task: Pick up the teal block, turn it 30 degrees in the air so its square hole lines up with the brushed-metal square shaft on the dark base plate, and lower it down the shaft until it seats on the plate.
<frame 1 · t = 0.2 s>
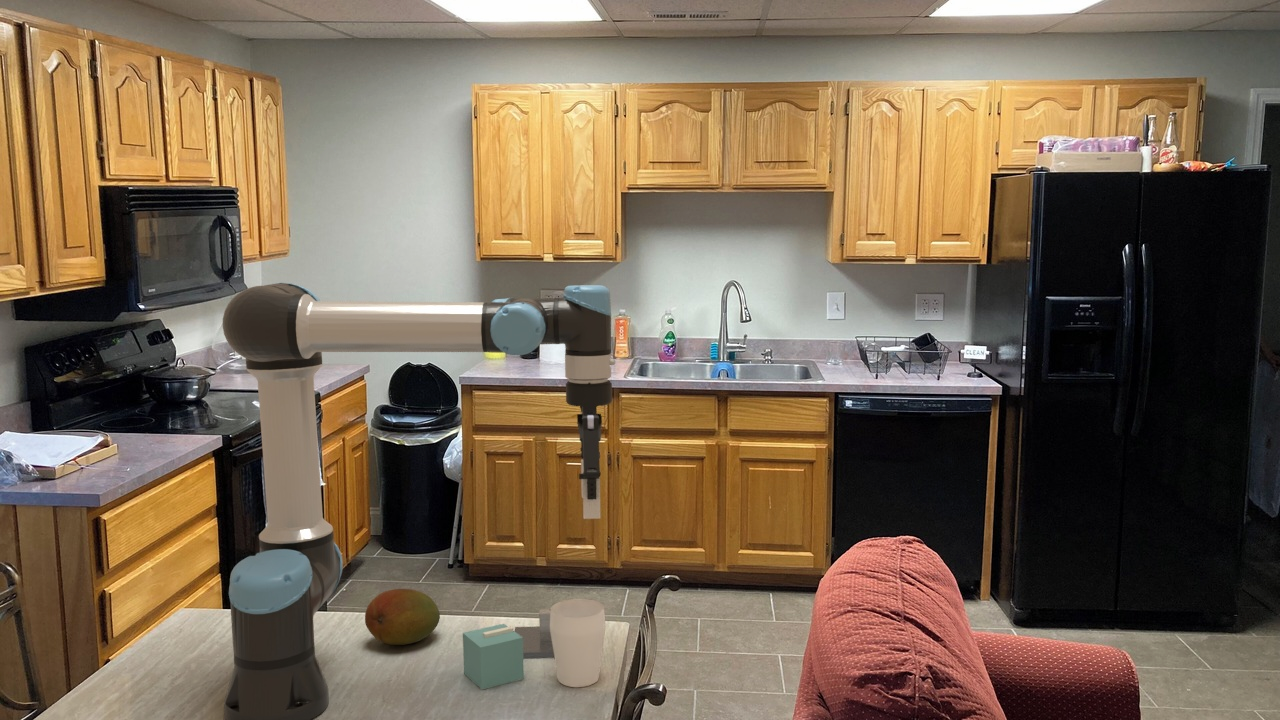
hand: (590, 507, 167), 27 cm above the table, fingers open, 13 cm apart
cup: (578, 680, 165), on the table
shaft fixture: (546, 644, 180), on the table
fruit: (404, 642, 181), on the table
teal block: (493, 676, 166), on the table
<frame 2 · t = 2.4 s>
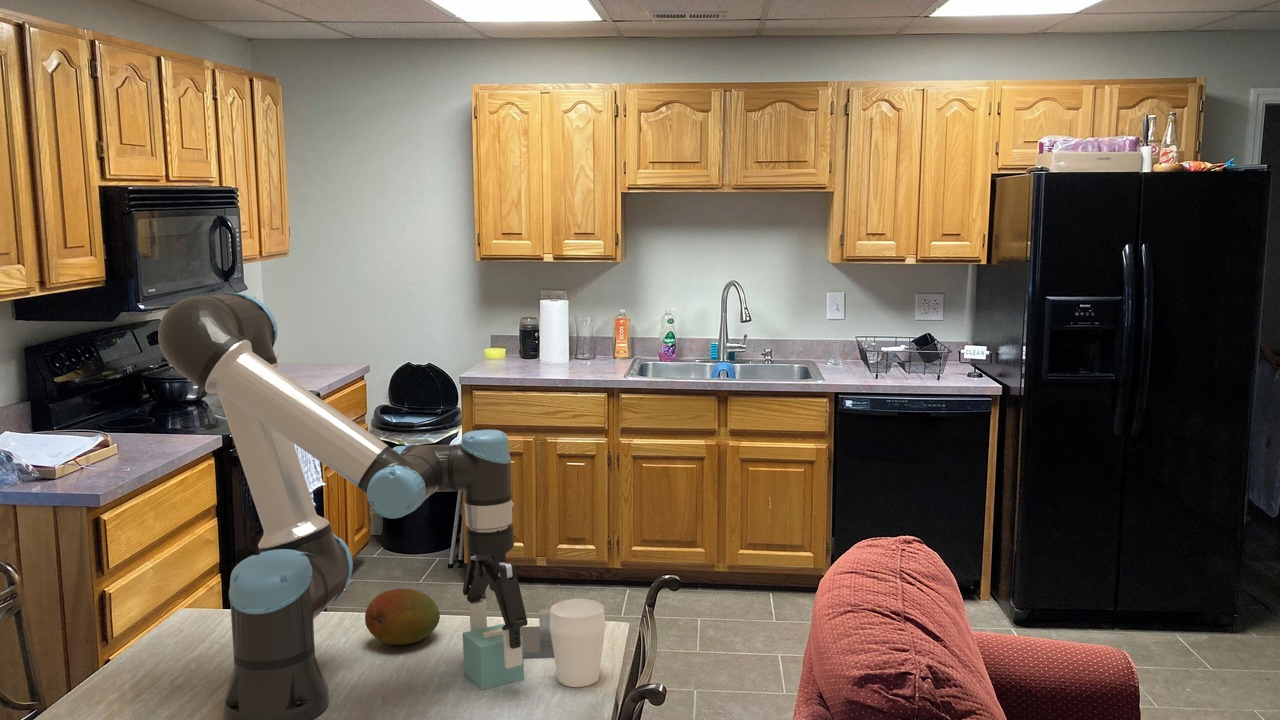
hand: (495, 652, 166), 4 cm above the table, fingers open, 13 cm apart
nothing on the table moved.
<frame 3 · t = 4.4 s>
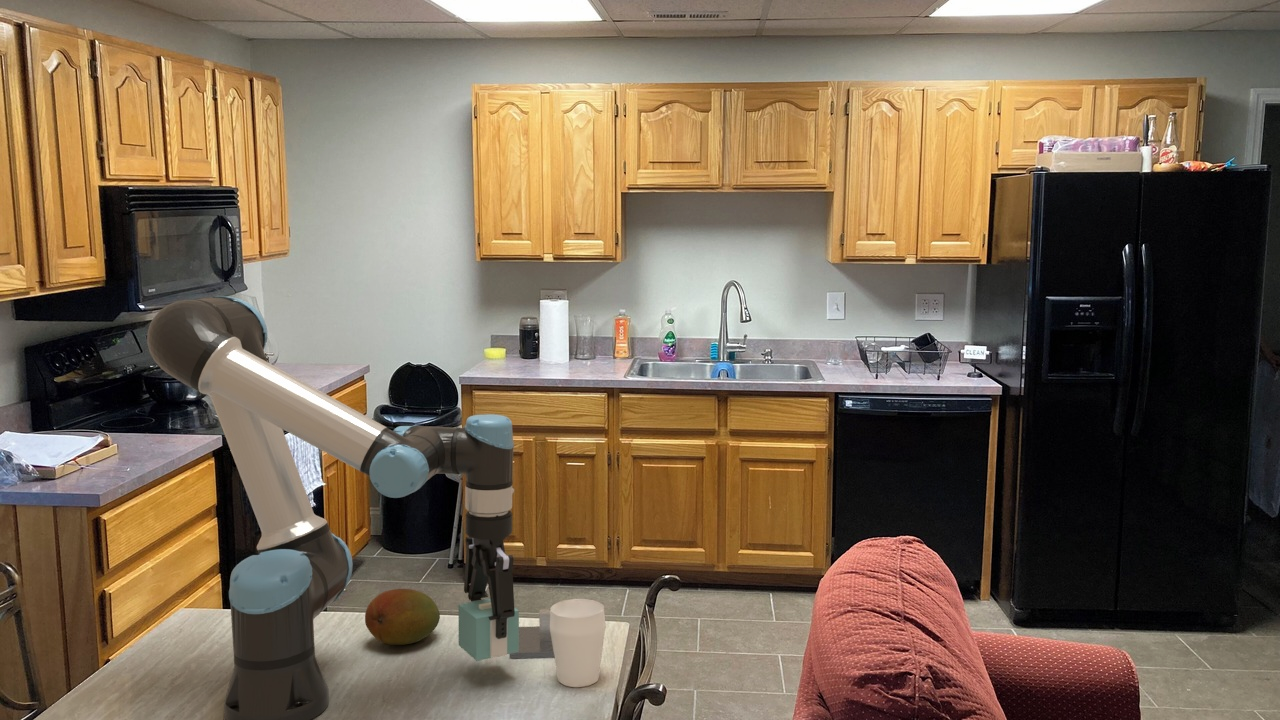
hand: (488, 646, 166), 5 cm above the table, fingers closed on teal block, 7 cm apart
teal block: (488, 648, 166), point 5 cm above the table, touching gripper
everything else where it was.
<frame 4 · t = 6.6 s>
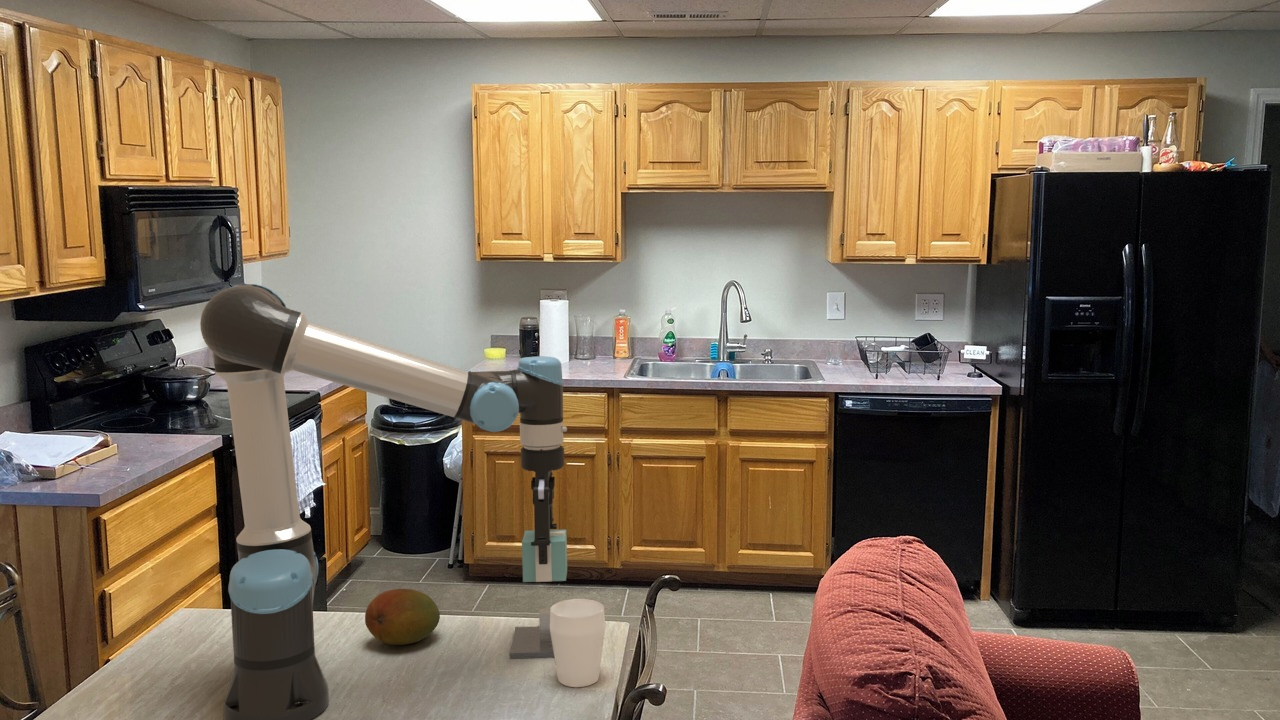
hand: (545, 573, 178), 13 cm above the table, fingers closed on teal block, 7 cm apart
teal block: (545, 574, 178), point 13 cm above the table, touching gripper
everything else where it was.
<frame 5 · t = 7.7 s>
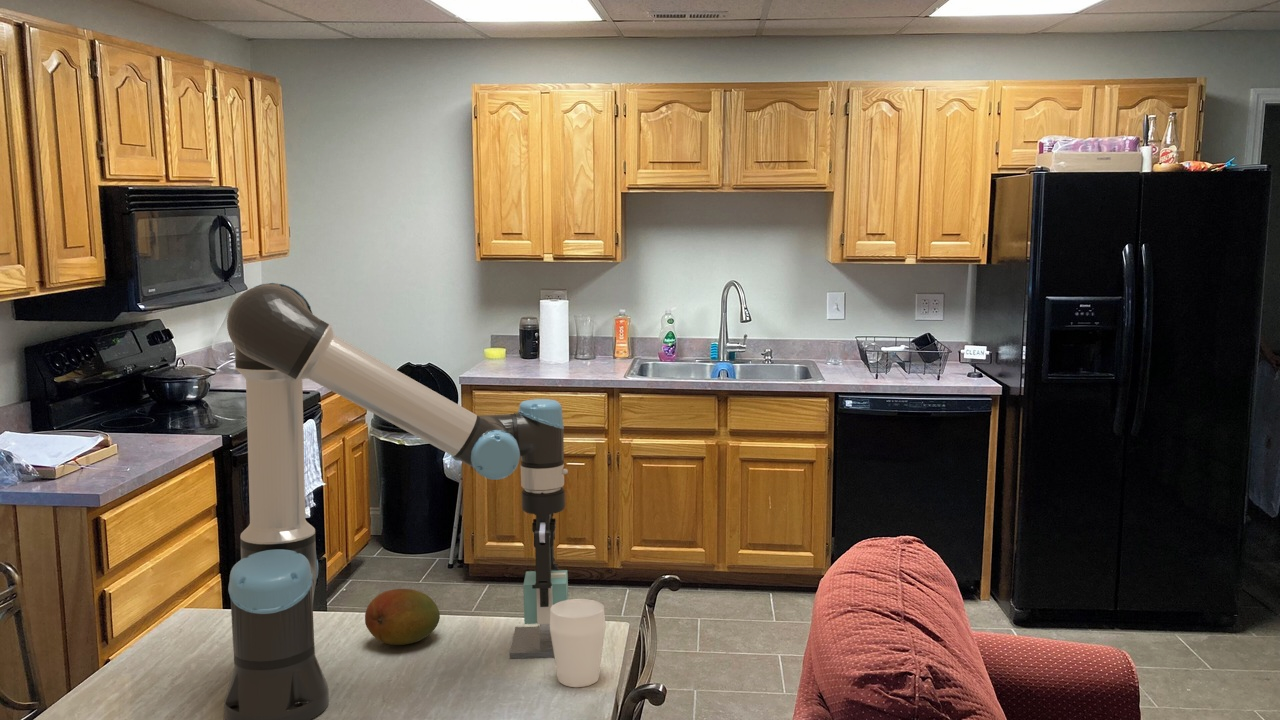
hand: (546, 614, 179), 5 cm above the table, fingers closed on teal block, 7 cm apart
teal block: (546, 615, 179), point 5 cm above the table, touching gripper
everything else where it was.
when the fingers open (2 cm above the table, at t = 8.7 s): teal block stays where it is, resting on shaft fixture.
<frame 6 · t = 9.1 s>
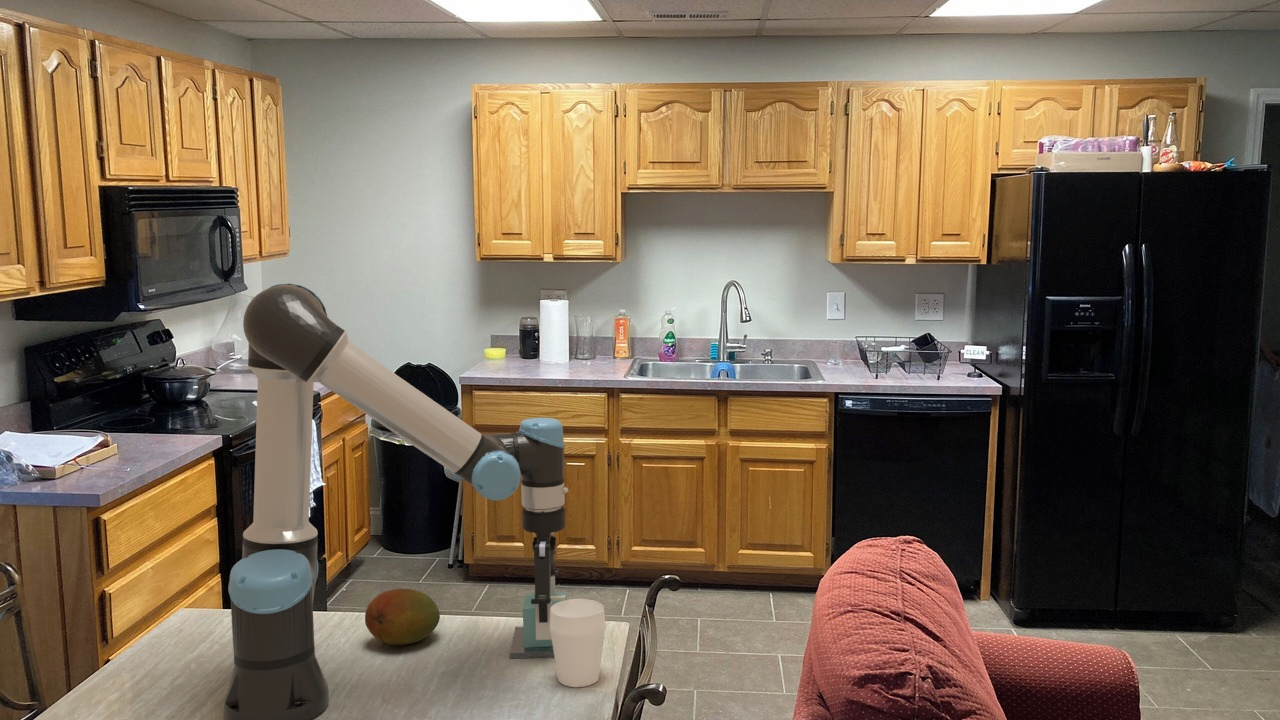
hand: (546, 624, 179), 4 cm above the table, fingers open, 13 cm apart
teal block: (546, 638, 179), point 1 cm above the table, touching shaft fixture
everything else where it was.
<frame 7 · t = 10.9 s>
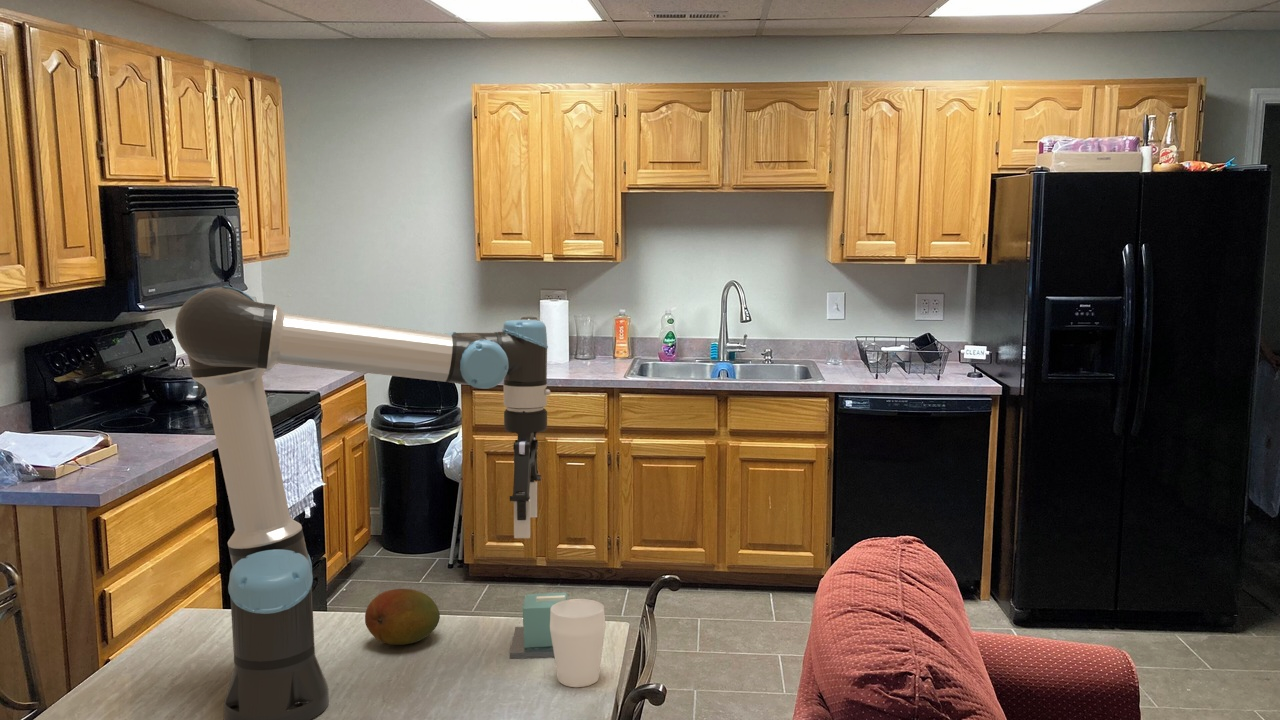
hand: (526, 527, 179), 21 cm above the table, fingers open, 13 cm apart
nothing on the table moved.
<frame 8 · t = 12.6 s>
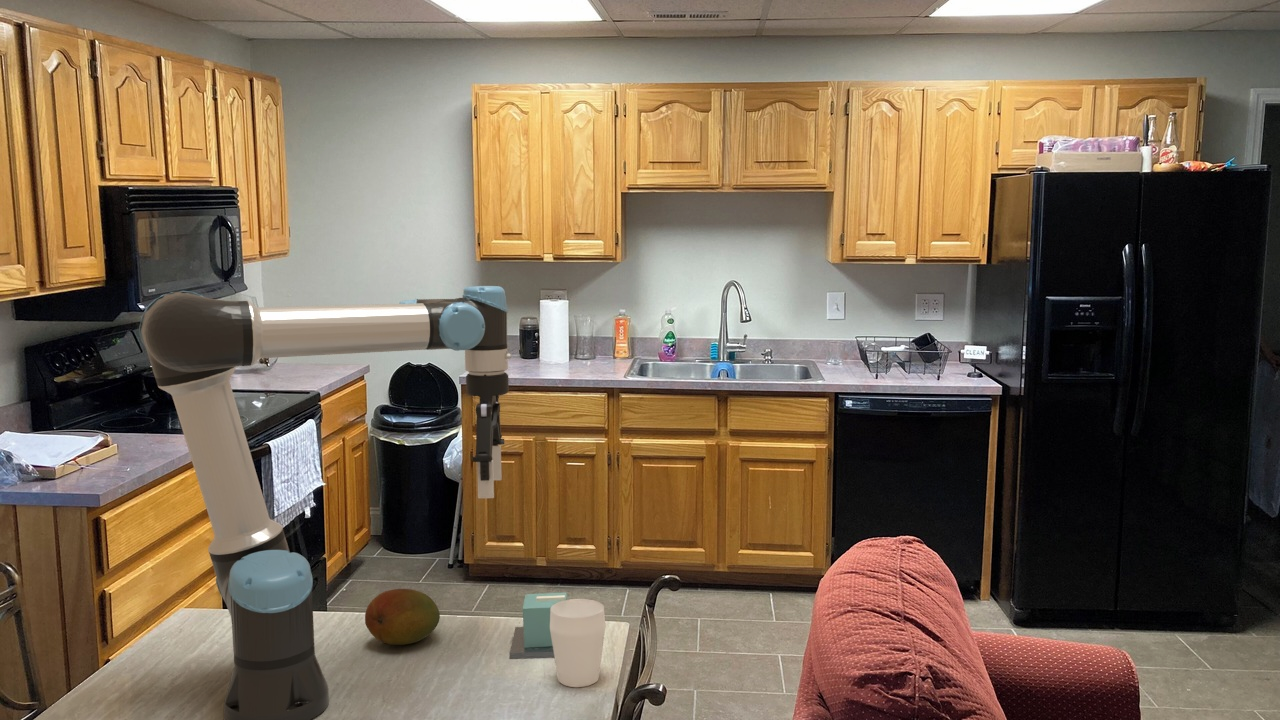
hand: (490, 488, 183), 27 cm above the table, fingers open, 13 cm apart
nothing on the table moved.
at the end: teal block 0.1 cm off-centre on the shaft fixture, point 1.1 cm above the shaft fixture's base; teal block tilted 1°; the gripper is holding nothing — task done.
